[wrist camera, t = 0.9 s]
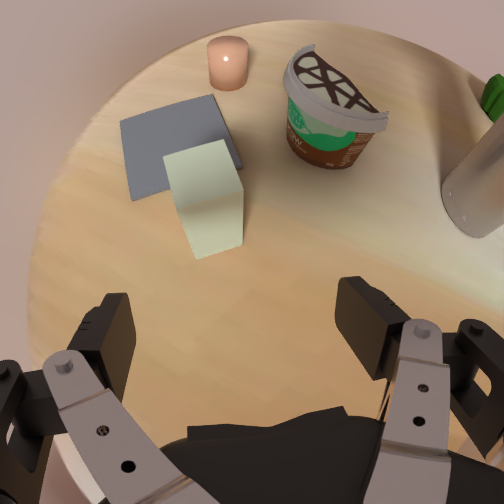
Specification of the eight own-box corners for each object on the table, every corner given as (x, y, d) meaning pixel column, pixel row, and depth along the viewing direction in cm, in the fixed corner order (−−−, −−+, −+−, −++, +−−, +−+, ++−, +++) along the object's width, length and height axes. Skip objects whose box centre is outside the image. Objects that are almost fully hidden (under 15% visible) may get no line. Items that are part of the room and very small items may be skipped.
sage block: (227, 204, 31) (223, 139, 21) (242, 245, 29) (243, 189, 20) (184, 218, 30) (162, 156, 21) (196, 259, 29) (176, 209, 19)
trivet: (212, 97, 36) (212, 94, 35) (242, 167, 32) (242, 164, 32) (121, 124, 34) (119, 121, 34) (132, 201, 31) (130, 198, 30)
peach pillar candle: (240, 67, 39) (240, 33, 33) (251, 86, 37) (253, 51, 31) (205, 73, 38) (202, 39, 32) (215, 94, 36) (212, 58, 31)
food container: (256, 118, 35) (260, 51, 26) (298, 104, 36) (311, 41, 27) (315, 196, 31) (341, 133, 22) (359, 176, 33) (392, 116, 23)
